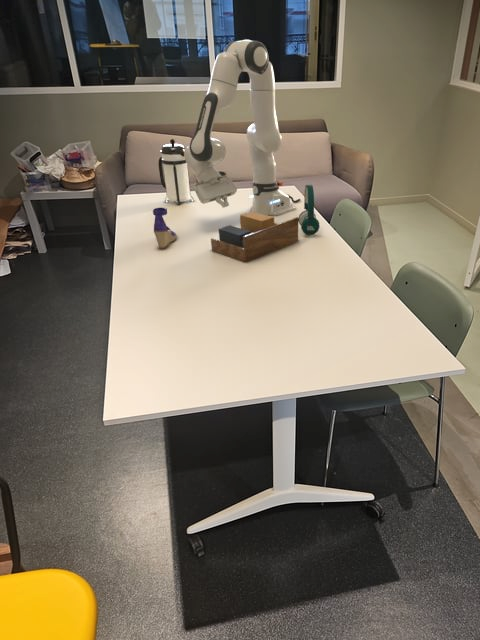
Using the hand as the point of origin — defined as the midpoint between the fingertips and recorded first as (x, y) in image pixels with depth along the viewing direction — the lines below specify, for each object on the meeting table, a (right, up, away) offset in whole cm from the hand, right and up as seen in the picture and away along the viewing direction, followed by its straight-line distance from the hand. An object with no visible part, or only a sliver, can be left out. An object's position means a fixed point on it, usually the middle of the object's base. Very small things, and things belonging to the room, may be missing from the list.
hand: (226, 206), depth 223 cm
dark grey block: (+8, -24, -17) cm, 30 cm away
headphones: (+37, -11, +2) cm, 38 cm away
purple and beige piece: (-25, -18, -9) cm, 32 cm away
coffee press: (-31, +18, +43) cm, 56 cm away
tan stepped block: (+16, -18, -8) cm, 25 cm away
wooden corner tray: (+14, -21, -13) cm, 28 cm away
